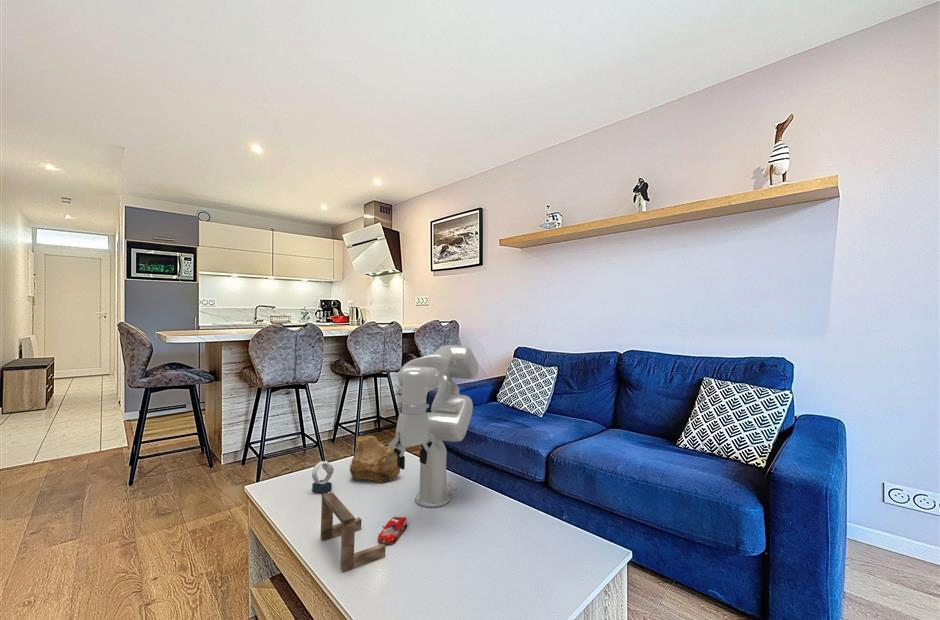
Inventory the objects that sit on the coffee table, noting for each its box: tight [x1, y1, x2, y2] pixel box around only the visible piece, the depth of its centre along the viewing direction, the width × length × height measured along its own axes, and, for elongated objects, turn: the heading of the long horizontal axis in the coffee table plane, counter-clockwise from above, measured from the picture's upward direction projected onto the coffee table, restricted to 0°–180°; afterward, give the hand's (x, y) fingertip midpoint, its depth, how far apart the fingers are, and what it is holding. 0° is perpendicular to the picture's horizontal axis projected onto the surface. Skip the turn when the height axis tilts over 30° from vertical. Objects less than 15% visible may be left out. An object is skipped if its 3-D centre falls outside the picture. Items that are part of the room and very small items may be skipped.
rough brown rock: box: [349, 435, 401, 483], centre depth 165 cm, size 23×17×15 cm
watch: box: [311, 460, 335, 496], centre depth 151 cm, size 6×8×11 cm
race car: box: [377, 515, 408, 546], centre depth 122 cm, size 13×5×4 cm, turn 165°
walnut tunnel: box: [319, 491, 387, 573], centre depth 115 cm, size 12×19×13 cm, turn 37°
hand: (412, 465), depth 126 cm, fingers open, 7 cm apart
